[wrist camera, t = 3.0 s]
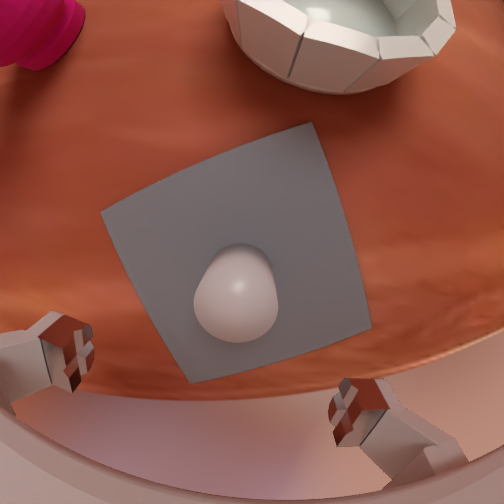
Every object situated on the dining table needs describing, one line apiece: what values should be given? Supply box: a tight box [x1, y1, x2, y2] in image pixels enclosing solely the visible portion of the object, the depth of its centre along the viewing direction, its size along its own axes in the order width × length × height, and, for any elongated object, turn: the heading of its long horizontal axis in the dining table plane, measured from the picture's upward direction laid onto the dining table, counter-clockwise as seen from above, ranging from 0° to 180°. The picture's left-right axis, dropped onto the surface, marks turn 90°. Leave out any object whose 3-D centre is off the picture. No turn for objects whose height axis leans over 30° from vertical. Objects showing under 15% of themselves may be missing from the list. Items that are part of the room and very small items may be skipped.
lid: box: [100, 122, 372, 384], centre depth 14 cm, size 13×13×5 cm
